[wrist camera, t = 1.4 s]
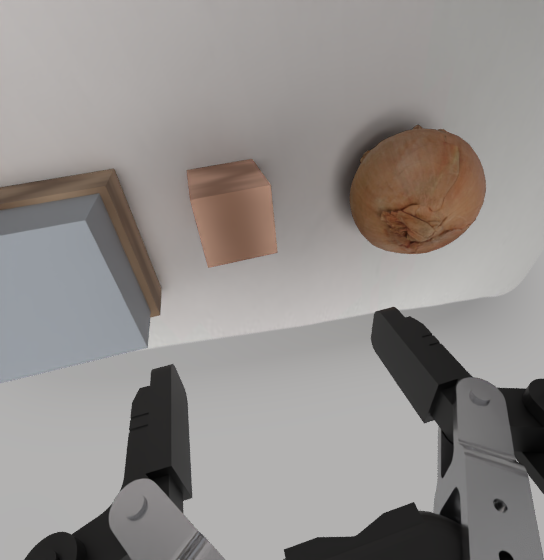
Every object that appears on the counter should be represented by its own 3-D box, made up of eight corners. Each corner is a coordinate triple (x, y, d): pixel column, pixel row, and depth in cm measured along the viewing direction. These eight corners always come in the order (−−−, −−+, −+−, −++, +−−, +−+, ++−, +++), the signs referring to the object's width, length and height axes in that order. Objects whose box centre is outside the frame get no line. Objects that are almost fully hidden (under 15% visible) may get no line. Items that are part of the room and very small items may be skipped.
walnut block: (114, 167, 23) (105, 185, 20) (161, 286, 29) (160, 315, 26) (-56, 195, 21) (-96, 220, 18) (34, 314, 28) (16, 348, 25)
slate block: (99, 193, 20) (84, 220, 17) (150, 311, 26) (147, 347, 23) (-82, 224, 18) (-135, 260, 15) (17, 341, 24) (-6, 384, 21)
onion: (336, 194, 31) (330, 265, 25) (377, 91, 24) (385, 153, 18) (428, 219, 32) (447, 296, 25) (495, 124, 25) (547, 197, 18)
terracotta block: (251, 158, 24) (270, 184, 20) (259, 217, 27) (277, 252, 23) (186, 169, 24) (190, 199, 19) (202, 229, 27) (208, 267, 22)
